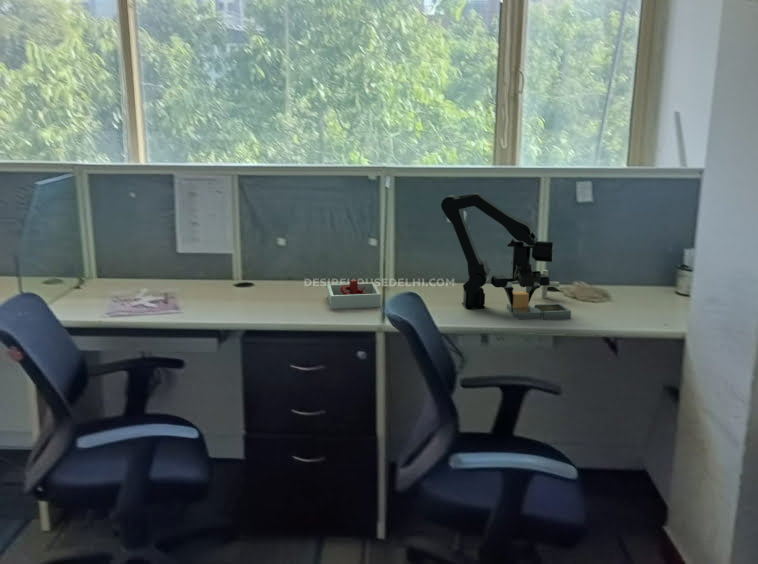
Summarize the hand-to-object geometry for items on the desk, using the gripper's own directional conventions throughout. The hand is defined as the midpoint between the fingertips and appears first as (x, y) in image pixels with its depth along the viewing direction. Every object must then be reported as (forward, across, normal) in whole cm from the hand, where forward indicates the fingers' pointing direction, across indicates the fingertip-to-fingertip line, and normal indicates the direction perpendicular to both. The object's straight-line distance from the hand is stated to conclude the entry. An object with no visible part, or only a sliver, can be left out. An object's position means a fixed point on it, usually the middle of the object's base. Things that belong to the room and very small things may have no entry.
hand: (519, 305), depth 247 cm
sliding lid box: (+2, +5, -7) cm, 9 cm away
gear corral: (+2, -54, +19) cm, 57 cm away
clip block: (0, 0, 0) cm, 0 cm away
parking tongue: (+2, 0, 0) cm, 2 cm away
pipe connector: (+2, +14, +14) cm, 20 cm away
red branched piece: (+2, -53, +19) cm, 56 cm away
